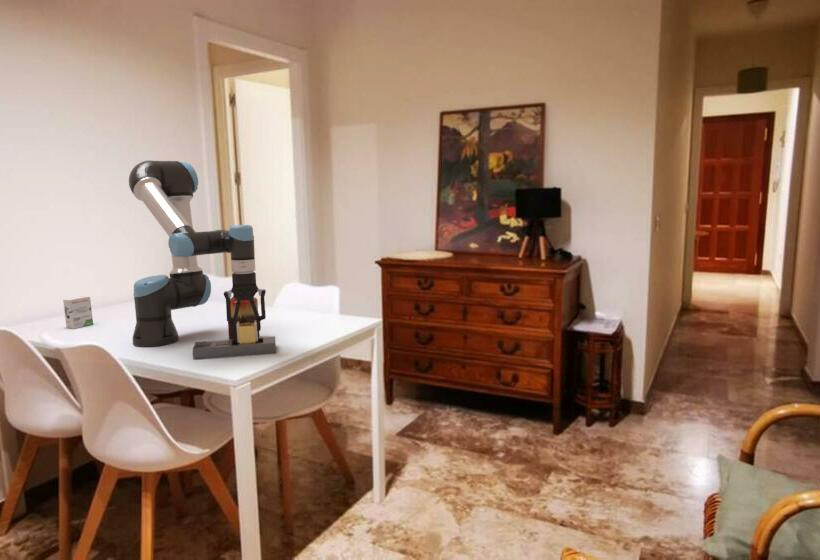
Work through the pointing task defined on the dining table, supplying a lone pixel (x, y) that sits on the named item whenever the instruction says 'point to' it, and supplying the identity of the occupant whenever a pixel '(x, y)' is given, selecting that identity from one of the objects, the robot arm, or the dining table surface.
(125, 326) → the dining table surface
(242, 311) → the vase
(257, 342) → the rail
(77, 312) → the ink box
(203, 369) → the dining table surface
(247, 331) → the yellow small box
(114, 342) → the dining table surface
